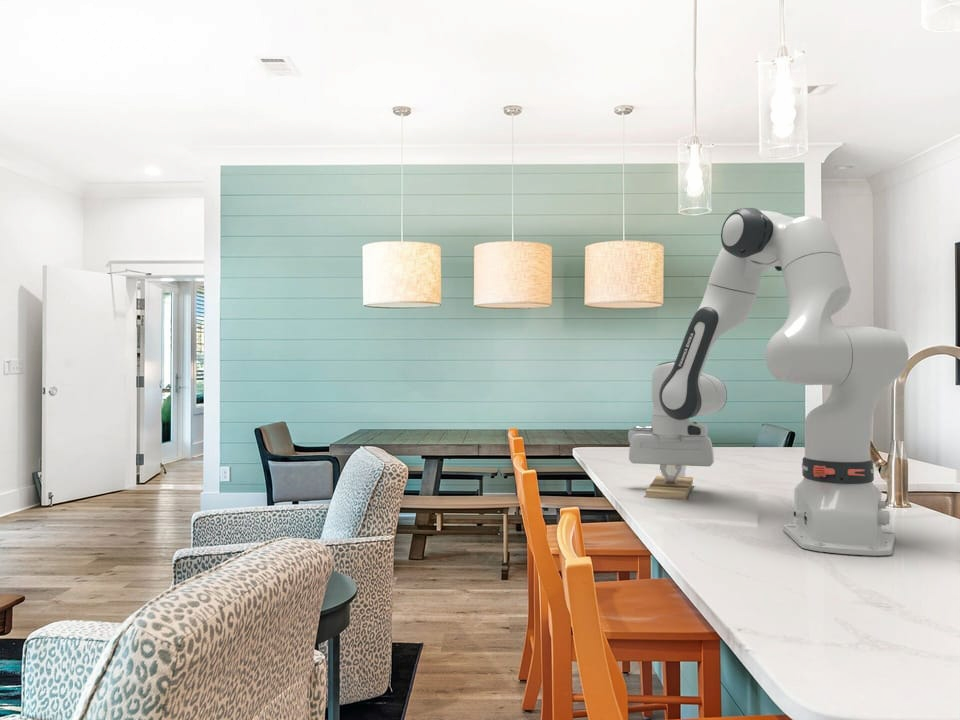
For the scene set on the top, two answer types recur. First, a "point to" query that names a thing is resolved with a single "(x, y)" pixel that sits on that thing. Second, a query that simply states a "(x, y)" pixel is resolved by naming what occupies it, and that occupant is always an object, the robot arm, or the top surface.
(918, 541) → the top surface
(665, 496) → the laid strip
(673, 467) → the white ramekin cup
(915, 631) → the top surface
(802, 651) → the top surface
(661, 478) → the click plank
